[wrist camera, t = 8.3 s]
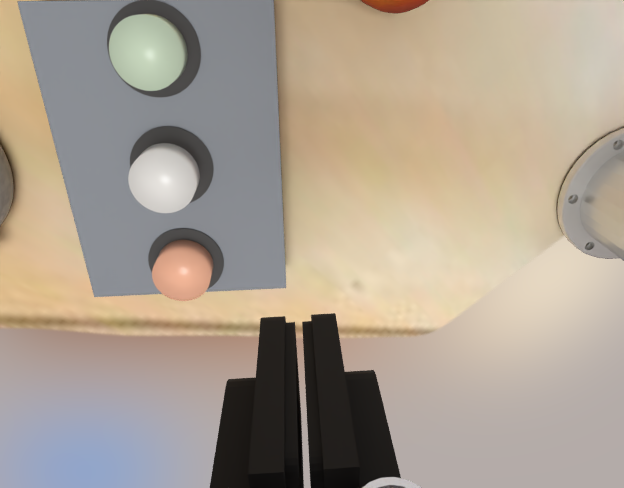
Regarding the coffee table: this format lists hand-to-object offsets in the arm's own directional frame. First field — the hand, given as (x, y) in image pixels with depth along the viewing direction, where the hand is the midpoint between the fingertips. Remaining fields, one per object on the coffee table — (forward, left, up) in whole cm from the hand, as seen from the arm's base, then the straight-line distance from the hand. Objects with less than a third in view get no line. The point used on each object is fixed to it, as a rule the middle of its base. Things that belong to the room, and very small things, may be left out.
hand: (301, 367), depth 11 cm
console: (+8, +3, -30) cm, 31 cm away
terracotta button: (+8, +11, -26) cm, 29 cm away
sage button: (+8, -5, -26) cm, 27 cm away
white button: (+8, +3, -25) cm, 26 cm away
